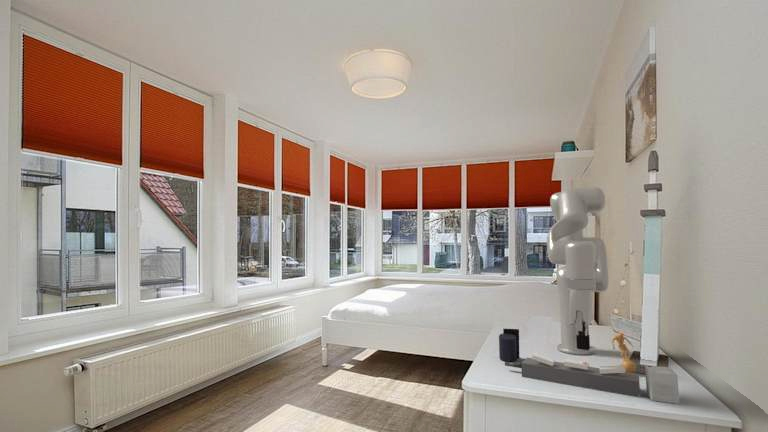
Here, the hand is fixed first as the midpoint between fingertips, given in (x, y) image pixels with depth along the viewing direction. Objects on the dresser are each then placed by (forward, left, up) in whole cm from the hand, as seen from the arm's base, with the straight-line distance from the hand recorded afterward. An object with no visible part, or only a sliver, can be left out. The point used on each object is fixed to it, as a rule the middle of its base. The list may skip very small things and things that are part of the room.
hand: (583, 348), depth 114 cm
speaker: (-13, -25, -10) cm, 30 cm away
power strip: (-1, -5, -10) cm, 11 cm away
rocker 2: (+1, -2, -5) cm, 5 cm away
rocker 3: (+1, +7, -5) cm, 8 cm away
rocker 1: (+1, -11, -5) cm, 12 cm away
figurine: (-19, +9, -10) cm, 23 cm away
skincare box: (0, +18, -10) cm, 21 cm away
